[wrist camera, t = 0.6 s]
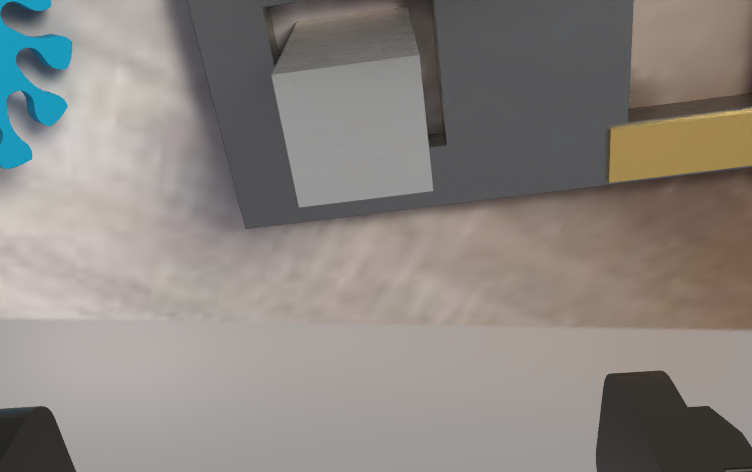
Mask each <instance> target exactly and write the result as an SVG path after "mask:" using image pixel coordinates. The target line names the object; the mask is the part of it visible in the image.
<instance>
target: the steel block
mask: <svg viewBox="0 0 752 472" xmlns="http://www.w3.org/2000/svg"><path fill="white" fill-rule="evenodd" d="M271 76H272V81H273V85H274V90H275V95H276V100H277V105H278V109H279V114H280V119H281V124H282V128H283V133H284V138H285V143H286V148H287V152H288V157H289V162H290V167H291V172H292V176H293V181H294V186H295V191H296V195H297V200H298V205H299V208H300V207H308V206H316V205H324V204H332V203H340V202H348V201H357V200H365V199H373V198H381V197H389V196H397V195H405V194H413V193H422V192H430V191H433V182H432V173H431V163H430V153H429V143H428V133H427V124H426V114H425V104H424V94H423V84H422V74H421V65H420V55H419V51H418V47H417V43H416V39H415V35H414V32H413V28H412V24H411V20H410V16H409V12H408V8H407V7H402V8H395V9H388V10H381V11H374V12H366V13H359V14H352V15H345V16H338V17H331V18H323V19H316V20H309V21H302V22H297V23H296V25H295V27H294V29H293V31H292V33H291V36H290V38H289V40H288V42H287V44H286V46H285V48H284V50H283V52H282V54H281V56H280V58H279V60H278V62H277V64H276V66H275V68H274V70H273V73H272V75H271Z"/></svg>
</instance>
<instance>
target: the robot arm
mask: <svg viewBox="0 0 752 472" xmlns="http://www.w3.org/2000/svg"><path fill="white" fill-rule="evenodd" d="M596 466H597V472H752V447H751V446H750V444H749V443H748V441H747V440H746V438H745V437H744V435H743V434H742V432H740V431H739V430H738V429H737V428H735V427H734V426H733V425H732V424H730V423H729V422H728V421H727V420H725V419H724V418H723V417H722V416H720V415H719V414H718V413H716V412H715V411H714V410H713V409H711V408H710V407H709V406H701V407H687V406H686V404H685V402H684V400H683V399H682V397H681V395H680V394H679V392H678V390H677V389H676V387H675V385H674V384H673V382H672V380H671V379H670V377H669V376H668V375H667V374H666V373H665V372H664V371H646V372H631V373H613V374H608V375H607V376H606V378H605V381H604V387H603V396H602V404H601V413H600V421H599V431H598V439H597V447H596ZM0 472H76V471H75V468H74V465H73V463H72V461H71V458H70V456H69V453H68V451H67V448H66V445H65V443H64V440H63V438H62V436H61V433H60V430H59V428H58V425H57V423H56V420H55V418H54V416H53V414H52V412H51V411H50V410H49V409H48V408H46V407H42V406H40V407H39V406H38V407H22V408H5V409H0Z"/></svg>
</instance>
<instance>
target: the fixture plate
mask: <svg viewBox="0 0 752 472" xmlns="http://www.w3.org/2000/svg"><path fill="white" fill-rule="evenodd" d="M187 1H188V5H189V9H190V13H191V17H192V21H193V25H194V29H195V32H196V36H197V40H198V44H199V48H200V52H201V56H202V60H203V64H204V68H205V72H206V76H207V79H208V83H209V87H210V91H211V95H212V99H213V103H214V107H215V111H216V115H217V119H218V123H219V126H220V130H221V134H222V138H223V142H224V146H225V150H226V154H227V158H228V162H229V166H230V170H231V174H232V177H233V181H234V185H235V189H236V193H237V197H238V201H239V205H240V209H241V213H242V217H243V221H244V224H245V228H246V229H249V228H258V227H266V226H274V225H282V224H290V223H299V222H307V221H315V220H323V219H331V218H340V217H348V216H356V215H364V214H372V213H381V212H389V211H397V210H405V209H413V208H422V207H430V206H438V205H446V204H454V203H462V202H471V201H479V200H487V199H495V198H503V197H512V196H520V195H528V194H536V193H544V192H553V191H561V190H569V189H577V188H585V187H594V186H602V185H610V184H618V183H626V182H635V181H643V180H651V179H659V178H667V177H676V176H684V175H692V174H700V173H708V172H717V171H725V170H733V169H741V168H749V167H752V94H744V95H736V96H728V97H721V98H713V99H705V100H697V101H689V102H682V103H674V104H666V105H658V106H650V107H642V108H635V109H629V87H630V66H631V45H632V23H633V2H634V0H432V10H433V21H434V32H435V43H436V54H437V65H438V76H439V87H440V99H441V110H442V121H443V132H444V133H440V134H432V135H428V143H429V153H430V163H431V173H432V182H433V191H430V192H422V193H413V194H405V195H397V196H389V197H381V198H373V199H365V200H357V201H348V202H340V203H332V204H324V205H316V206H308V207H300V208H299V205H298V200H297V195H296V191H295V186H294V181H293V176H292V172H291V167H290V162H289V157H288V152H287V148H286V143H285V138H284V133H283V128H282V124H281V119H280V114H279V109H278V105H277V100H276V95H275V90H274V85H273V81H272V76H271V75H272V73H273V70H274V68H275V66H276V64H277V62H278V60H279V55H278V50H277V45H276V40H275V35H274V30H273V25H272V20H271V15H270V10H269V6H273V5H280V4H287V3H294V2H301V1H309V0H187Z"/></svg>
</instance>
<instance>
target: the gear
mask: <svg viewBox="0 0 752 472" xmlns="http://www.w3.org/2000/svg"><path fill="white" fill-rule="evenodd" d="M8 2H13V3H15V4H17V5H19V6H21V7H23V8H25V9H29V10H36V11H43V10H46V9H48V8H49V7H50V6H51V0H0V13H1V9H2V7H3V6H4V4H6V3H8ZM23 48H30V49H31V50H32V51H33V52H34V54H35V55H36V56H37V58H38V59H39V60H40V61H41V63H43V64H44V65H46V66H49V67H52V68H56V69H67V67H68V65H69V63H70V59H71V53H72V41H70V40H69V39H68V38H66V37H63V36H58V35H53V34H47V35H44V36H37V37H31V36H25V35H23V34H21V33H18V32H16V31H14V30H12V29H11V28H9V27H7V26H6V25H5V24H4V23H3V21H2V19H1V15H0V167H2V168H4V169H8V168H14V167H17V166H19V165H22V164H24V163H26V162H28V161H29V160H31V159H32V151H31V149H30V147H29V146H28V144H26V143H25V142H24V141H22V140H21V139H20V138H19V137H18V136H17V134H16V133H15V131H14V130H13V128H12V126H11V124H10V122H9V118H8V113H7V106H6V101H7V98H8V96H9V95H10V94H11V93H13V92H15V91H22V92H23V93H24V95H25V97H26V101H27V108H28V112H29V114H30V116H31V117H32V118H33V119H34V120H35V121H37V122H40V123H42V124H44V125H47V126H51V125H53V124H54V123H56V122H57V121H58V120H59V119H60V117H61V116H62V115H63V113H64V112H65V110H66V109H67V107H68V106H67V103H66V102H65V100H64V99H63V98H61V97H60V96H58V95H55V94H53V93H50V92H46V91H42V90H40V89H39V88H37V87H35V86H34V85H33V84H32V83H31V82H30V81H29V80H28V79H27V78H26V77H25V76H24V74H23V73H22V72H21V71H20V69H19V68H18V66H17V64H16V56H17V54H18V52H19V51H20V50H22V49H23Z"/></svg>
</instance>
